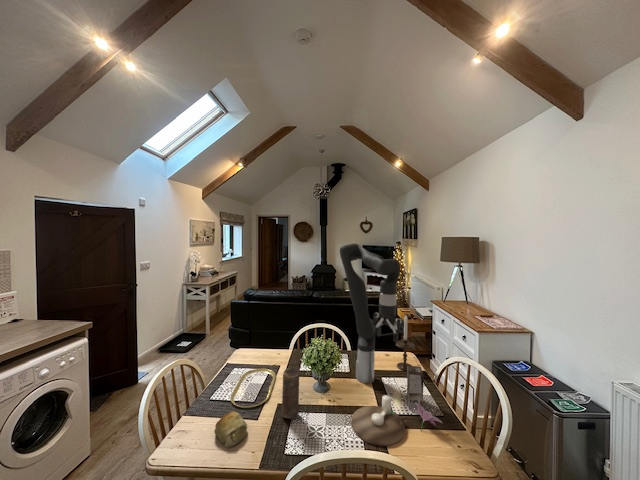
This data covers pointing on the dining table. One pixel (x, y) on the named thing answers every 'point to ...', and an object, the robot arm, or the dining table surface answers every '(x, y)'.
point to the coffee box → (415, 386)
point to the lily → (426, 415)
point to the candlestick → (404, 346)
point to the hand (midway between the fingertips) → (386, 338)
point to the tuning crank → (386, 410)
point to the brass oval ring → (242, 381)
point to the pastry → (230, 429)
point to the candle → (290, 393)
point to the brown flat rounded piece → (377, 427)
